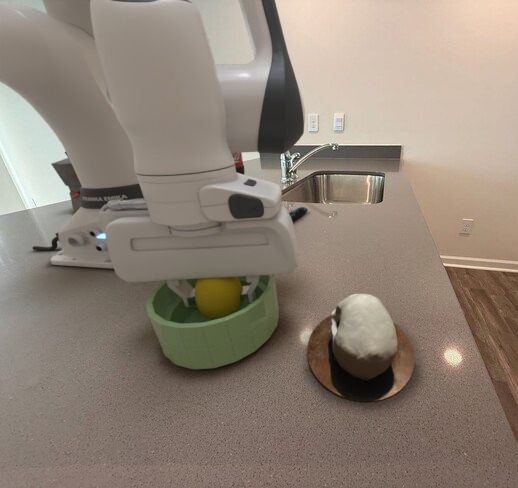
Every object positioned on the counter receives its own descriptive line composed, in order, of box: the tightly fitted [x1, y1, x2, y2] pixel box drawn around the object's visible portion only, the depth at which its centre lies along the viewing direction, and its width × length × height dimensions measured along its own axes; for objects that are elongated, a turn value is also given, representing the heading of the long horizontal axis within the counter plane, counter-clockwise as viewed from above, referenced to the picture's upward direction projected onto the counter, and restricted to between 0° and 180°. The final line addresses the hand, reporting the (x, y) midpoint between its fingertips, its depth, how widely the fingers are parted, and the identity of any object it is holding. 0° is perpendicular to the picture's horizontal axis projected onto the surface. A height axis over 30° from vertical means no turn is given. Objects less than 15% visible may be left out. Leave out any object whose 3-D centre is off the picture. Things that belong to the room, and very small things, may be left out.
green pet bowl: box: [145, 275, 280, 370], centre depth 33 cm, size 14×14×6 cm
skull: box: [306, 292, 415, 403], centre depth 29 cm, size 12×10×10 cm
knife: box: [289, 206, 309, 223], centre depth 62 cm, size 31×3×4 cm, turn 154°
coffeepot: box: [50, 151, 82, 214], centre depth 79 cm, size 15×9×18 cm, turn 51°
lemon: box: [195, 277, 242, 320], centre depth 32 cm, size 6×6×8 cm
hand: (222, 302), depth 33 cm, fingers closed on lemon, 5 cm apart
